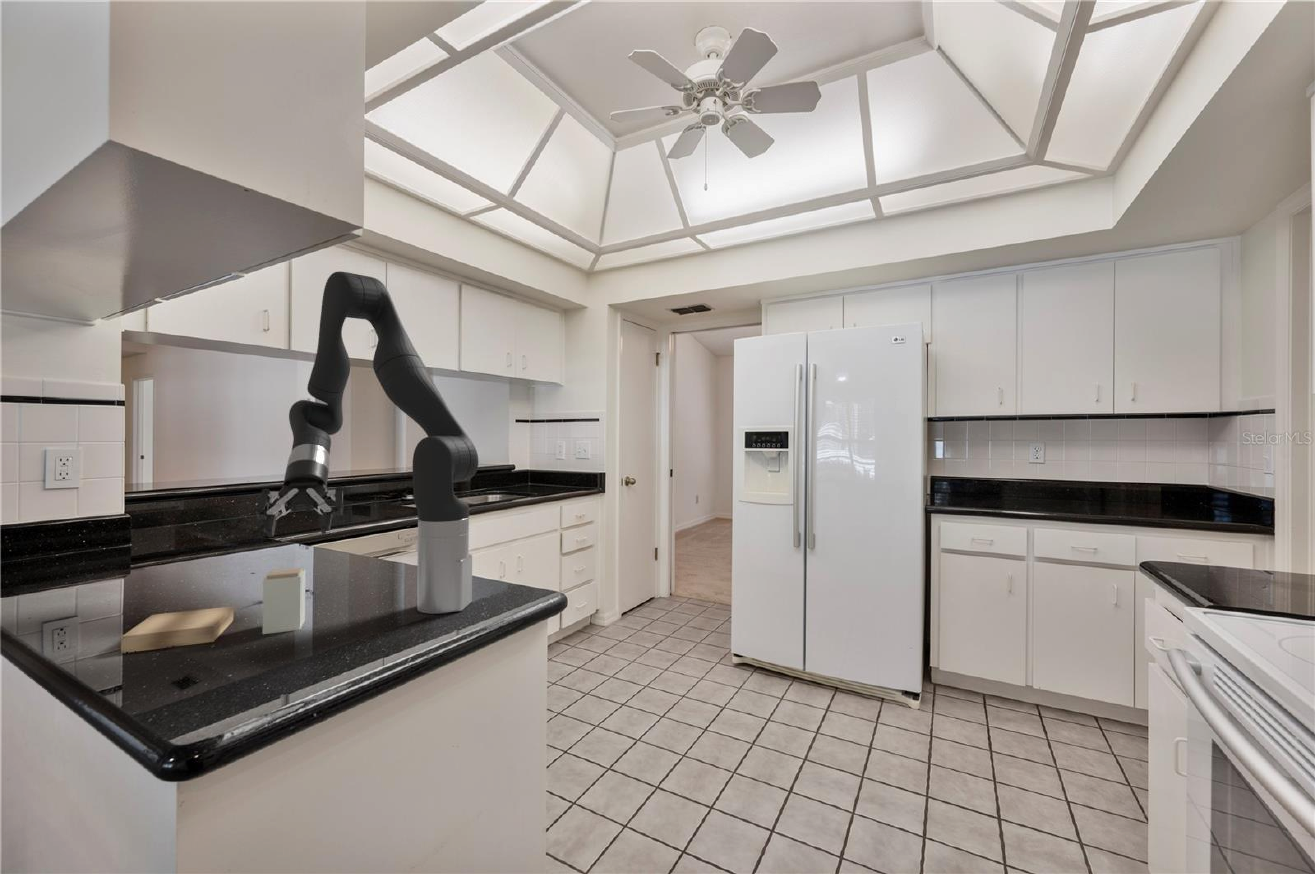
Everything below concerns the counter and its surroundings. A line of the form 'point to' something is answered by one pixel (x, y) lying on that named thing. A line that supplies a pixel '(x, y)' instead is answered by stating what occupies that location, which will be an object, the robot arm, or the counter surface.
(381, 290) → the robot arm
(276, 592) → the pale green upright block
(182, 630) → the base slab
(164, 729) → the counter surface
